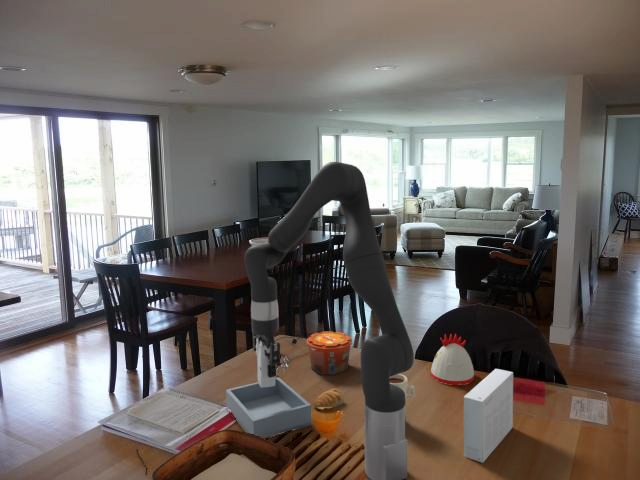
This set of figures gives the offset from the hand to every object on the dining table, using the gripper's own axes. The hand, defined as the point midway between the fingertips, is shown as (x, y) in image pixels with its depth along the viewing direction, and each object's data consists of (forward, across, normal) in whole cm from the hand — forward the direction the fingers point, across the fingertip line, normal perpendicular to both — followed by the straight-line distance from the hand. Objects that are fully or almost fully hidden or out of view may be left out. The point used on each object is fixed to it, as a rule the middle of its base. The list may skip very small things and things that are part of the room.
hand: (266, 371), depth 146 cm
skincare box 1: (+3, 0, 0) cm, 3 cm away
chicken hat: (+14, -7, -64) cm, 66 cm away
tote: (+14, 0, 0) cm, 14 cm away
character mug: (+14, -21, -29) cm, 38 cm away
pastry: (+14, -2, -19) cm, 24 cm away
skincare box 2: (+14, -41, -44) cm, 62 cm away
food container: (+14, +21, -33) cm, 41 cm away
